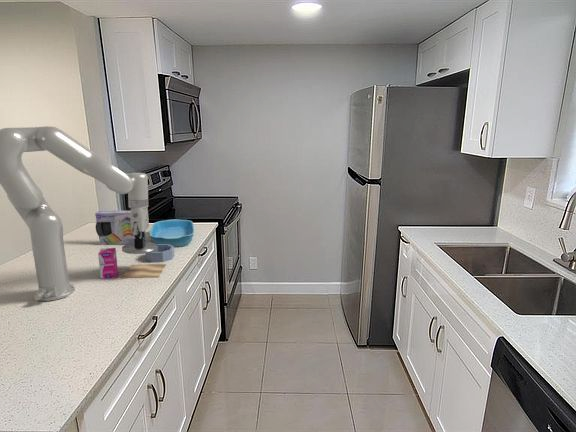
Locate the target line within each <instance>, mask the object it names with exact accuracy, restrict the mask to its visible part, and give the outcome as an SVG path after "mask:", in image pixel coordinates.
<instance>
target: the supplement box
mask: <svg viewBox="0 0 576 432" xmlns="http://www.w3.org/2000/svg"><path fill="white" fill-rule="evenodd" d="M97 256H98V265H99V274H100V279H101V280H103V279H112V278H115V279H116V278H117V276H118V274H119V270H118V259H117V257H118V256H117V249H116V247H112V248H111V247H110V248H109V247H107V248H100V250H99V251H98V252H97Z"/></svg>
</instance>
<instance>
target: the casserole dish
mask: <svg viewBox="0 0 576 432" xmlns="http://www.w3.org/2000/svg"><path fill="white" fill-rule="evenodd" d="M194 234H195V226H194V222H193V221H192V220H188V219H179V218H178V219H176V218H175V219H166V220H159V221H156V222H154V223H152V226H151V228H150V232H149V236H150V239H151V240H152V243H155V244H169V245H172V246H174V248H179V247H187V246H188V245H189V244H191V242H192V240H193V237H194Z"/></svg>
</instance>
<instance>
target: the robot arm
mask: <svg viewBox="0 0 576 432" xmlns="http://www.w3.org/2000/svg"><path fill="white" fill-rule="evenodd" d="M45 151H46V152H49V153H50V154H51V155H54V156H55V157H56V158H58V159H59V160H61V161H62V162H64V163H66V164H68V165H69V166H71V167H72V168H73V169H75V170H77V171H78V172H80V173H82V174H85V175H87V176H88V177H91V178H93V179H95V180H97V181H98V182H100V183H102V184H103V185H105V187H106V188H107V189H108V190H110V191H111V192H115V193H117V194H120V195H126V194H128V195H127V197H128V198H127V200H128V208H129V209H130V211H131V231H132V232H133V235H134V247H135V248H143V238H142V236H145V237H146V230H147V229H149V227H150V222H149V209H148V207H149V183H148V182H149V181H148V179H149V177H148V175H147V173H144V172H130V173H129V172H126V173H125V172H124V171H122V170H120V169H119V168H118V167H117V166H115V165H113V164H111V163H110V162H109V161H107V160H105V159H104V158H103V157H101V156H100V155H99V154H97V153H96V152H94V151H93V150H91V149H89V148H88V147H86V145H84V144H82V143H81V142H79V141H78V140H76V139H75V138H74V137H72V136H70V135H69V134H68V133H67V132H65V131H63V130H61V129H60V128H59V127H57V126H48V125H47V126H35V127H33V126H32V127H31V126H30V127H4V128H0V186H1V187H2V188H3V190H4V191H5V193H6V196H7V198H8V200H9V202H10V203H11V205H12V206H13V207H14V209H15V210H16V212H17V214H19V216H20V217H21V219H22V220H23V221H24V223H25V225H26V226H27V227H28V229H29V232H30V240H31V248H32V249H31V250H32V254H33V255H32V256H33V260H34V261H33V262H34V268H35V273H36V279H37V280H36V281H37V284H38V285H37V286H38V290H37V291H36V292H35V293H34V296H33V299H34V300H35V301H39V302H40V301H42V302H50V301H57V300H60V299H63V298H66V297H69V296H70V295H72V294H74V292H75V290H76V287H75V286H74V285H73V284H70V278H69V272H68V270H69V269H68V264H67V263H68V262H67V257H66V250H65V244H64V243H65V242H64V227H63V222H62V219H61V218H60V216H59V215H58V213H56V212H55V211H54V210H53V208H52V207H51V206H50V205H49V203H48V201H47V200H46V198H45V197H44V195H43V192H42V190H41V188H40V187H39V186H38V185H37V184H36V182H35V181H34V180H33V177H32V176H31V175H30V174H29V172H28V169H27V168H26V167H25V165H24V163H23V161H22V160H23V159H22V156H23V154H24V153H32V152H45ZM145 244H146V243H145Z"/></svg>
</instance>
